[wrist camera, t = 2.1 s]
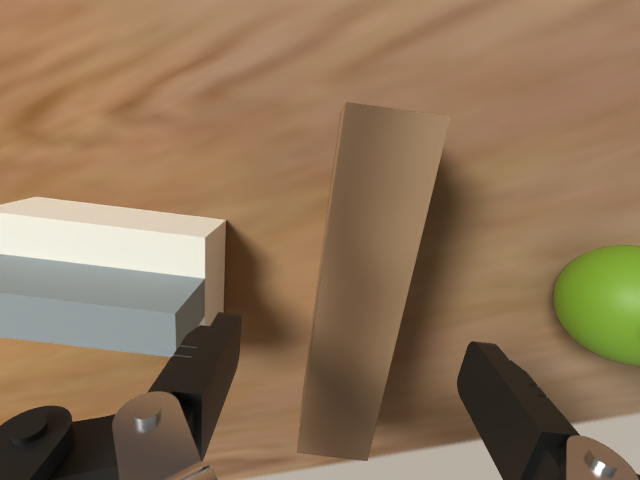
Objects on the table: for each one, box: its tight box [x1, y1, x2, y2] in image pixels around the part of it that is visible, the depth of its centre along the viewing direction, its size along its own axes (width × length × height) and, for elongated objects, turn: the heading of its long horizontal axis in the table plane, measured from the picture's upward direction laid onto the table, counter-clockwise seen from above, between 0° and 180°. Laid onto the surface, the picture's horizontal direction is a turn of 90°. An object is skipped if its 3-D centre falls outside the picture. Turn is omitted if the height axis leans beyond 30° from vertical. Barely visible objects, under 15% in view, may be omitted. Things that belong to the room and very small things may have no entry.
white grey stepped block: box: [0, 197, 226, 357], centre depth 15 cm, size 10×6×6 cm, turn 83°
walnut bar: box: [297, 102, 451, 461], centre depth 15 cm, size 4×16×5 cm, turn 173°
